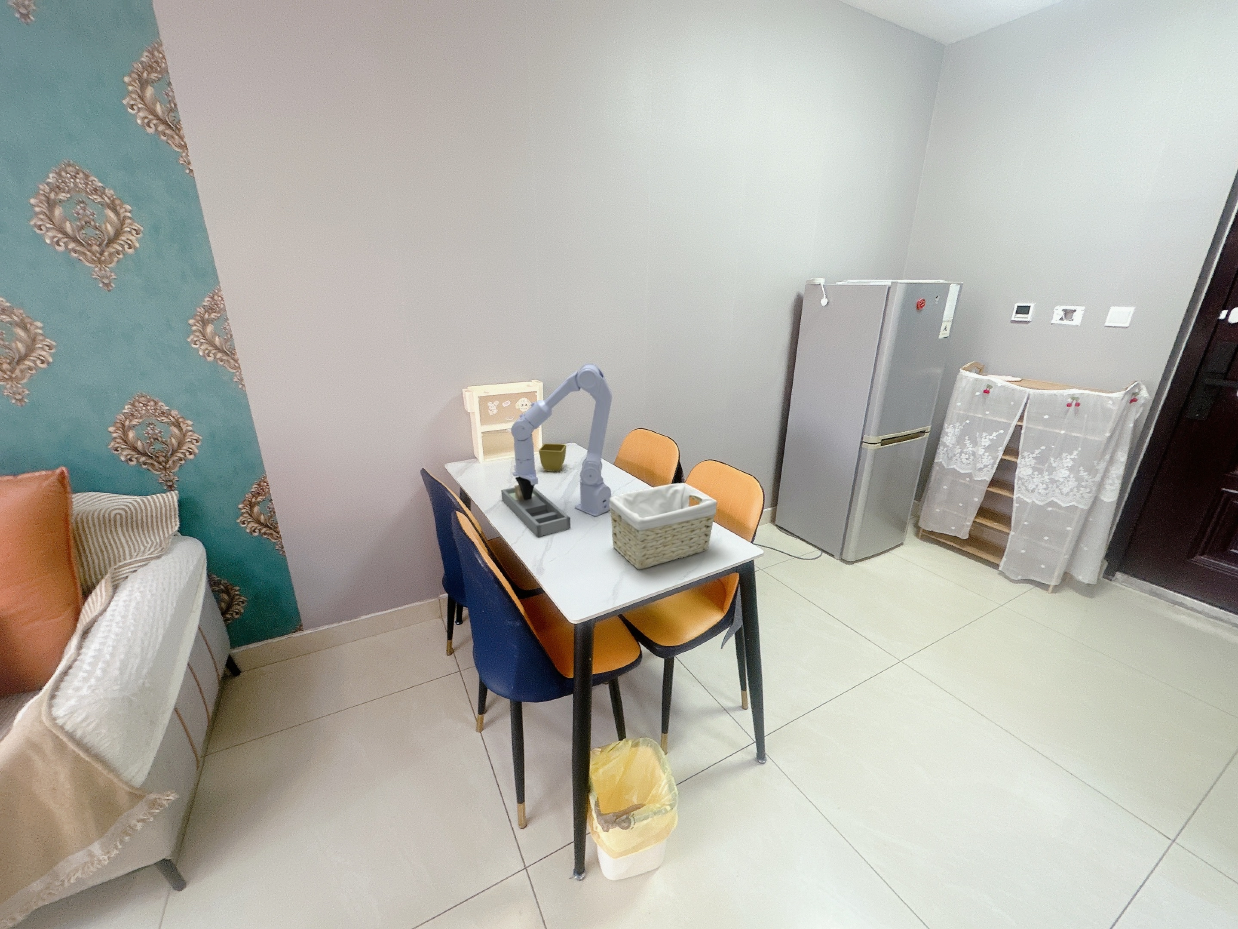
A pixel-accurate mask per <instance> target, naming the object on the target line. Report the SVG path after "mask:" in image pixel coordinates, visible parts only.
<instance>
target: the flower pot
mask: <svg viewBox="0 0 1238 929" xmlns="http://www.w3.org/2000/svg"><path fill="white" fill-rule="evenodd" d="M566 452H567V444H564V443H563V444H562V443H543V445H542V446H541V447H540V448H539V450H538V455H539V459H540V464H541V466H542V468H543V469H544V471H545V472H557V473H558V472H560V470H561V469H562V467H563V465H564V463H565V459H566V454H567V453H566Z"/></svg>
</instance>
